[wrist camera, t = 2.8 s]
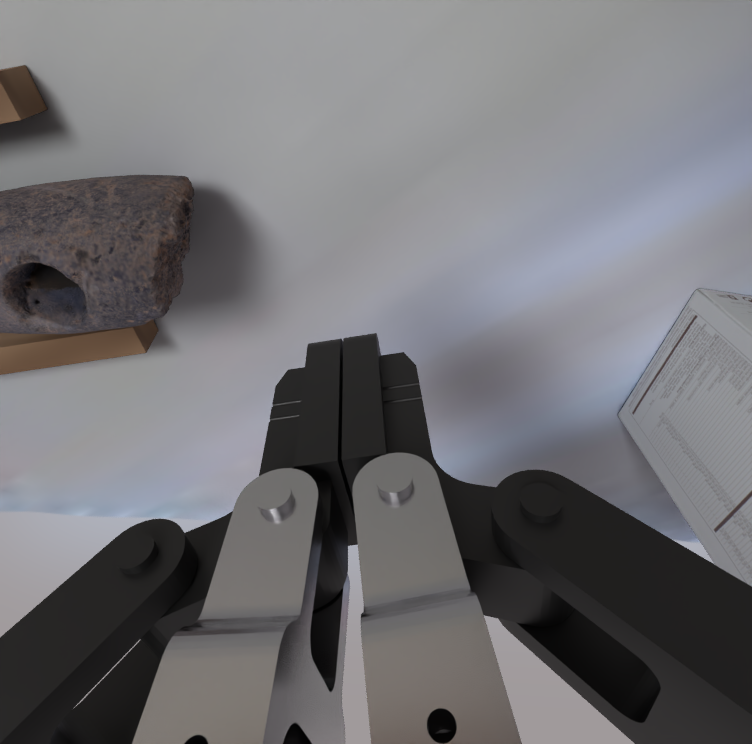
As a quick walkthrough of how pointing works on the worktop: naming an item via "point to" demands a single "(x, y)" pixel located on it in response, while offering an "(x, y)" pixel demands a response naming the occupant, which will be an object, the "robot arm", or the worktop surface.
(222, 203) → the worktop surface
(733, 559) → the supplement box
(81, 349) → the channel
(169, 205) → the perforated stone tool
